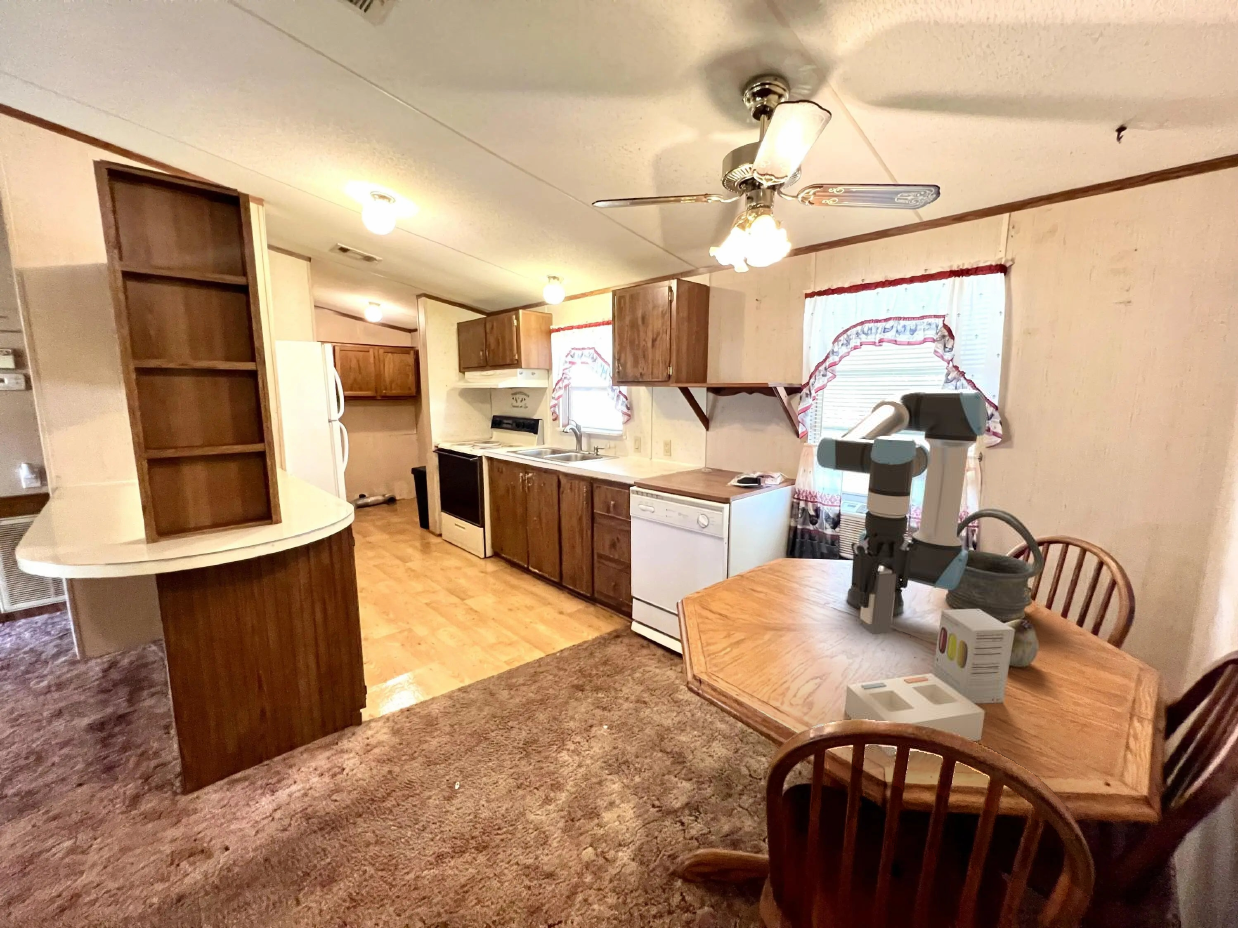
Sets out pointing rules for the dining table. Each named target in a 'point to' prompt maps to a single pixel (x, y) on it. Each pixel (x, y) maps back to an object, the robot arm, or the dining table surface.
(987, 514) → the clay pot
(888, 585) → the plug
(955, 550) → the robot arm
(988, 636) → the supplement box
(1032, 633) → the fruit
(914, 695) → the socket block
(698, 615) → the dining table surface
